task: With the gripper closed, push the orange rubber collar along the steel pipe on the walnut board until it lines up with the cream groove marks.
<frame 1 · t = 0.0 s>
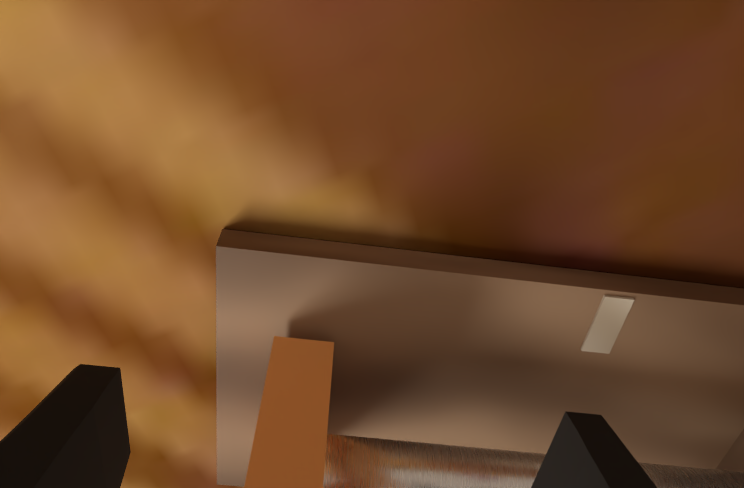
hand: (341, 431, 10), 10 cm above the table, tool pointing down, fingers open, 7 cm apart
pipe board: (533, 393, 24), on the table
pipe: (508, 391, 24), resting on pipe board
collar: (288, 473, 20), point 5 cm above the table, slide at 0.0 cm
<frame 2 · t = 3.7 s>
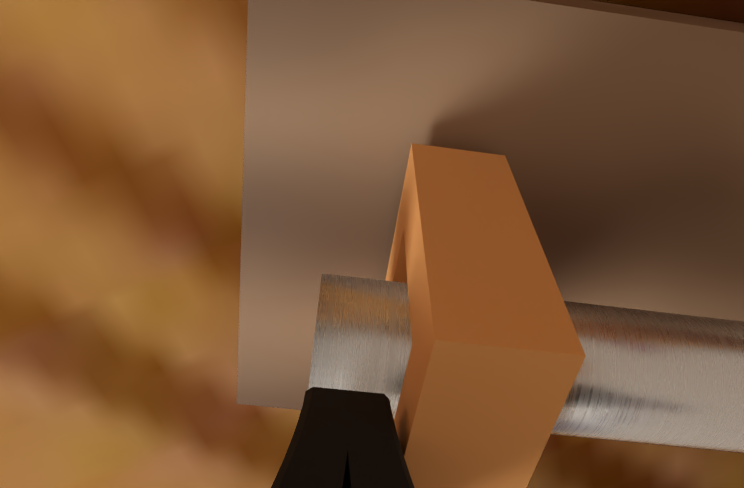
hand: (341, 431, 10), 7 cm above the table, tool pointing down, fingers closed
pipe board: (704, 264, 16), on the table
pipe: (668, 259, 16), resting on pipe board
collar: (442, 354, 12), point 5 cm above the table, slide at 1.5 cm, touching gripper
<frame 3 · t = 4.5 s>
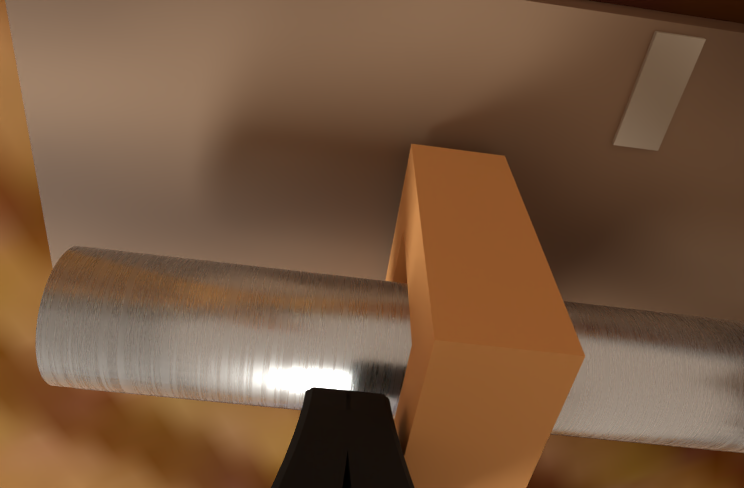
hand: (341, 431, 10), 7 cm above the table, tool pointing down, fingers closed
pipe board: (535, 244, 16), on the table
pipe: (497, 239, 16), resting on pipe board
collar: (442, 354, 12), point 4 cm above the table, slide at 6.1 cm, touching gripper
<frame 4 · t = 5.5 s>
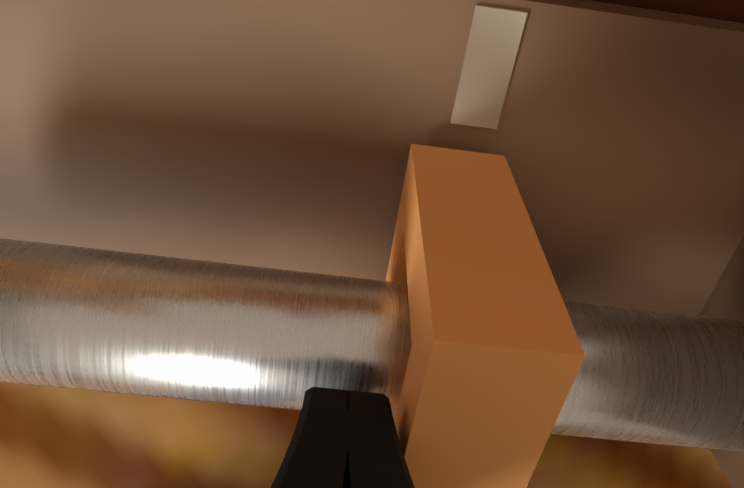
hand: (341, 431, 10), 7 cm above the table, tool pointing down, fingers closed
pipe board: (399, 227, 16), on the table
pipe: (360, 223, 16), resting on pipe board
collar: (442, 354, 12), point 5 cm above the table, slide at 9.7 cm, touching gripper
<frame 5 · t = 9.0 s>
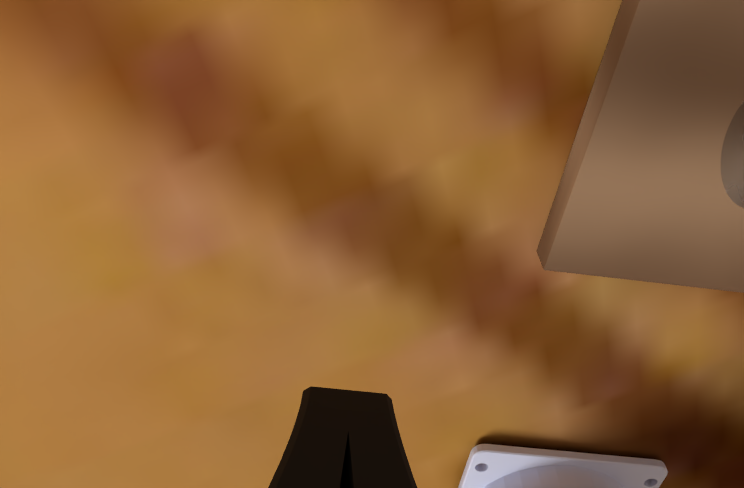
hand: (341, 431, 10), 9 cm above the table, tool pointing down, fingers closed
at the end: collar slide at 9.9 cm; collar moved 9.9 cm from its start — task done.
